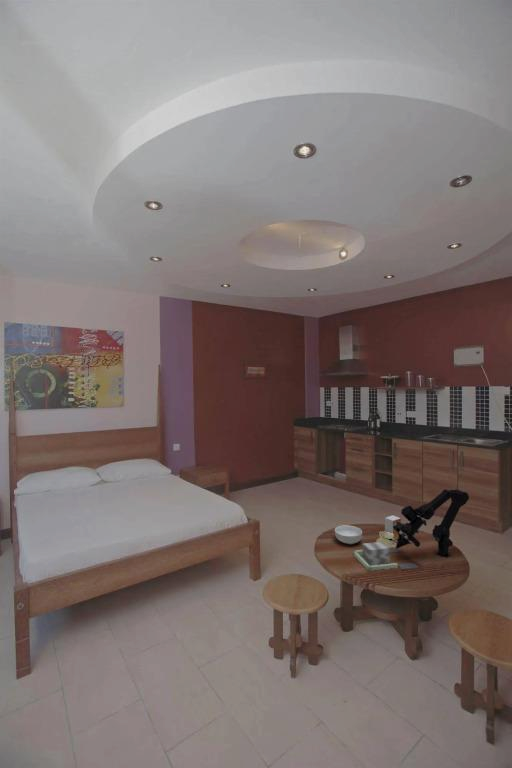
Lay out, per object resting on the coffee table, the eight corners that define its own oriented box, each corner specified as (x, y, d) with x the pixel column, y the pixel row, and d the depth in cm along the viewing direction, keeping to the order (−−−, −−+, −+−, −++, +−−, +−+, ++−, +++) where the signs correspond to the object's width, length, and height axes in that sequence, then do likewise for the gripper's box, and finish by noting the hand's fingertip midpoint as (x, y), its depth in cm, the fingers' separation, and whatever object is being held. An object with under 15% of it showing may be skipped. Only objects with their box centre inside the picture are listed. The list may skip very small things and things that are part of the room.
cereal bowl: (344, 533, 236) (344, 522, 236) (367, 541, 223) (367, 530, 223) (329, 541, 224) (329, 530, 224) (352, 550, 212) (352, 538, 212)
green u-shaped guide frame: (394, 548, 214) (394, 545, 214) (418, 567, 192) (418, 564, 192) (351, 552, 209) (351, 549, 209) (370, 573, 187) (370, 569, 187)
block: (381, 556, 205) (381, 541, 205) (389, 563, 197) (389, 548, 197) (362, 558, 202) (362, 543, 202) (369, 565, 195) (369, 550, 195)
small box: (393, 541, 224) (393, 520, 223) (384, 537, 229) (384, 517, 229) (401, 538, 228) (401, 518, 228) (392, 534, 233) (392, 514, 233)
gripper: (395, 511, 212) (378, 531, 210) (414, 523, 194) (396, 545, 192) (407, 523, 213) (391, 543, 211) (428, 536, 195) (410, 558, 193)
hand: (396, 547), depth 202 cm, fingers closed
